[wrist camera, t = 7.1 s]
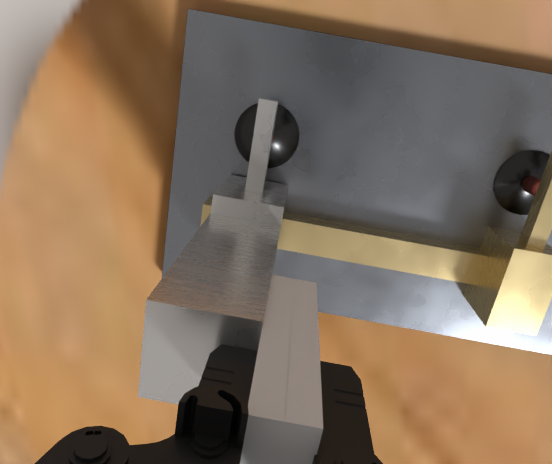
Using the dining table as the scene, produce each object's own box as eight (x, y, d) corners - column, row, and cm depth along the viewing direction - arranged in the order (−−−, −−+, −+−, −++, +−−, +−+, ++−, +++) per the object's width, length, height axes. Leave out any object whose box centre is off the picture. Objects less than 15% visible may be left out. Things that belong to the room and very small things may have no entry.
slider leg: (241, 92, 21) (163, 104, 10) (303, 103, 21) (298, 129, 10) (218, 257, 24) (135, 420, 13) (273, 267, 24) (241, 440, 13)
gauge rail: (222, 84, 22) (208, 84, 19) (594, 151, 21) (641, 163, 18) (201, 247, 24) (186, 271, 21) (531, 308, 24) (563, 340, 21)
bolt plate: (192, 11, 21) (187, 8, 21) (651, 93, 21) (665, 94, 20) (165, 276, 26) (160, 283, 25) (544, 346, 26) (552, 355, 25)
